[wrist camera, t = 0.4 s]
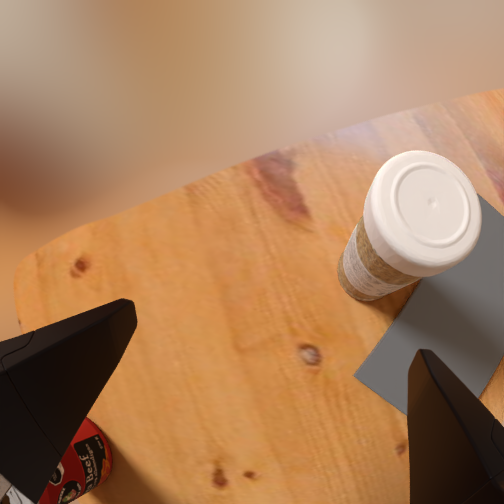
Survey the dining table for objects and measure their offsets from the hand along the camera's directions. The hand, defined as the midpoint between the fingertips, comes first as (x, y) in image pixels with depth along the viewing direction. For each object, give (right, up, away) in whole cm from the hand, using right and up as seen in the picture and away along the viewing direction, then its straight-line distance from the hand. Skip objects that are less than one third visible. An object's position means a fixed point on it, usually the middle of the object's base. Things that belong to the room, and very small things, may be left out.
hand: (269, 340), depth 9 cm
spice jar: (+8, +1, +14) cm, 16 cm away
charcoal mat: (+16, -2, +11) cm, 20 cm away
